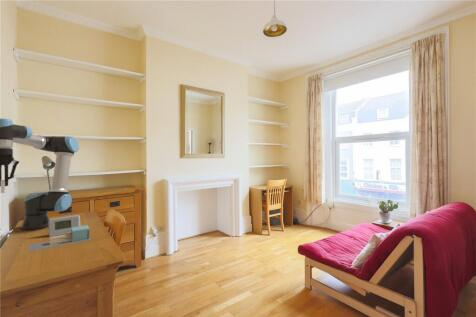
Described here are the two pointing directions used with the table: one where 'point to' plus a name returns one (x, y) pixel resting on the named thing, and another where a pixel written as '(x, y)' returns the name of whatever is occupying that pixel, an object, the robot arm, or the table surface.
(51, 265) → the table surface
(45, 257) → the table surface
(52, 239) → the slat
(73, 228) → the end cap
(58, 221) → the digital clock
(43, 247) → the mat
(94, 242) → the table surface
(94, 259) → the table surface
